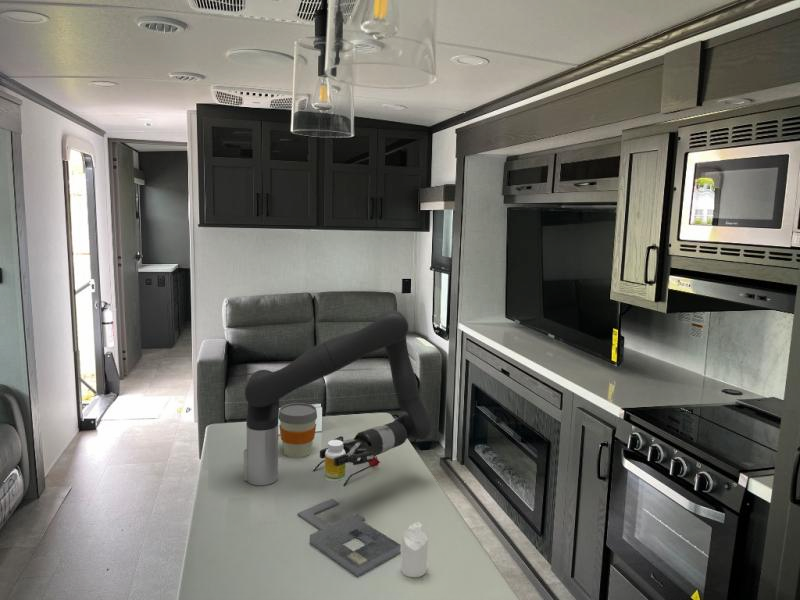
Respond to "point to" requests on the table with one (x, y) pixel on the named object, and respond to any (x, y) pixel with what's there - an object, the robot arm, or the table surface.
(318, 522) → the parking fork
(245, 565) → the table surface
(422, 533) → the white plastic bottle
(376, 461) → the glasses
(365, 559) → the socket block
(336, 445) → the supplement bottle
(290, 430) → the reusable coffee cup
